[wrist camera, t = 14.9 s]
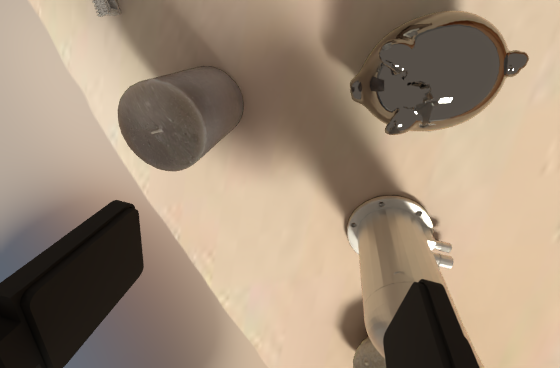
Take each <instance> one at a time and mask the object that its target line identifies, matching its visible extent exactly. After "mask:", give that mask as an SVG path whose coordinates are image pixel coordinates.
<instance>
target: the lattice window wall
mask: <svg viewBox="0 0 560 368" xmlns="http://www.w3.org/2000/svg"><path fill="white" fill-rule="evenodd" d="M93 3H95V5H94V6H95V7H96V6H97V7H96V8H95V9H98V11H97V13H99V14H98V15H97V16H100V17H103V16H105V15H112V16H115V15H118V14H121V11H120V9H119V6H118V4H117V1H116V0H94V1H93Z"/></svg>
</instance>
